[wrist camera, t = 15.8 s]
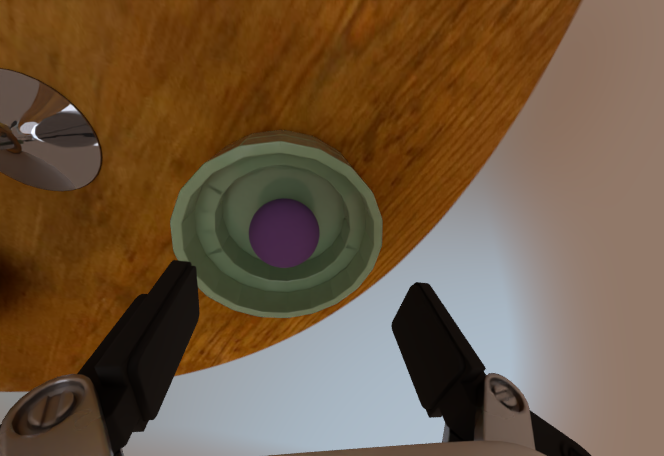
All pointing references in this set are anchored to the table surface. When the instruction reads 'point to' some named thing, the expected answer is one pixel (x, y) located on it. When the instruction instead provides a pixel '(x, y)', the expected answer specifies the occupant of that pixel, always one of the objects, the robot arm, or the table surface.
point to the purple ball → (284, 233)
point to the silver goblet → (44, 136)
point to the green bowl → (252, 193)
